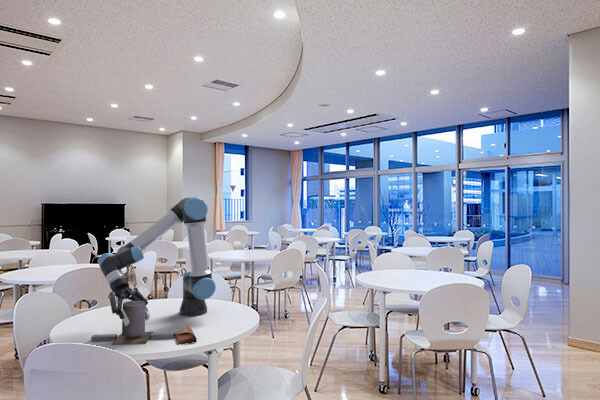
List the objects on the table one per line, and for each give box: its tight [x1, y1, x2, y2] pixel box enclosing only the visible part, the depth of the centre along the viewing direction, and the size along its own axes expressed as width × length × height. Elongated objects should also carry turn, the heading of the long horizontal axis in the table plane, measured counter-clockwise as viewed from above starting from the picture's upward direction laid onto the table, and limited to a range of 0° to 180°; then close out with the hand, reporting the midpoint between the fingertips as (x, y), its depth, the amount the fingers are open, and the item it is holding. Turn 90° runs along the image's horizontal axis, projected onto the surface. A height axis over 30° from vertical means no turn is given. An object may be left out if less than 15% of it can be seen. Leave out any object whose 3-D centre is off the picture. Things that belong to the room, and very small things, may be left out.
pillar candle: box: [121, 300, 147, 337], centre depth 181 cm, size 10×10×15 cm
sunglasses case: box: [174, 324, 197, 346], centre depth 183 cm, size 18×7×7 cm
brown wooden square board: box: [111, 331, 155, 346], centre depth 181 cm, size 14×14×1 cm
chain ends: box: [90, 331, 176, 342], centre depth 181 cm, size 35×3×2 cm, turn 97°
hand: (138, 321), depth 179 cm, fingers closed on pillar candle, 9 cm apart
